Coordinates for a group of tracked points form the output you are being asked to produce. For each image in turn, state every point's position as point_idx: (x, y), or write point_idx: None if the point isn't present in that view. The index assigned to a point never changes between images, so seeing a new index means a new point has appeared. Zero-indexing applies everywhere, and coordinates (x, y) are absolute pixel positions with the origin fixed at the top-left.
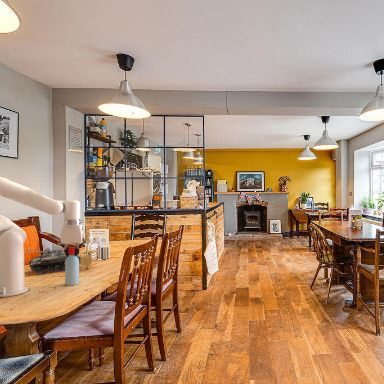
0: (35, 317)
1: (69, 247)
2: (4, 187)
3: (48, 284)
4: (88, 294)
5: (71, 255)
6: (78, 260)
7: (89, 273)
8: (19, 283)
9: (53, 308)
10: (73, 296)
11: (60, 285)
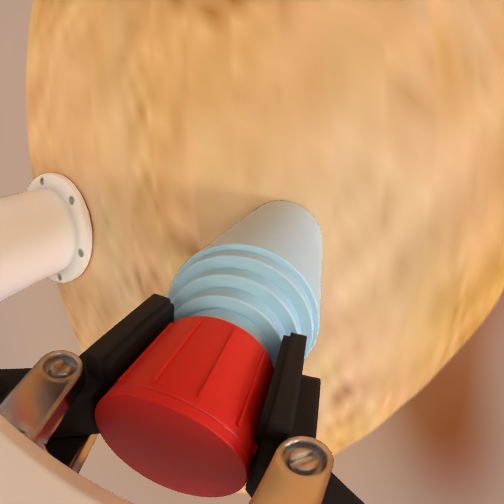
0: None
1: (117, 432)
2: None
3: (155, 169)
4: (333, 443)
5: None
6: (311, 347)
7: (390, 37)
8: (47, 272)
9: None
10: None
11: (218, 234)
